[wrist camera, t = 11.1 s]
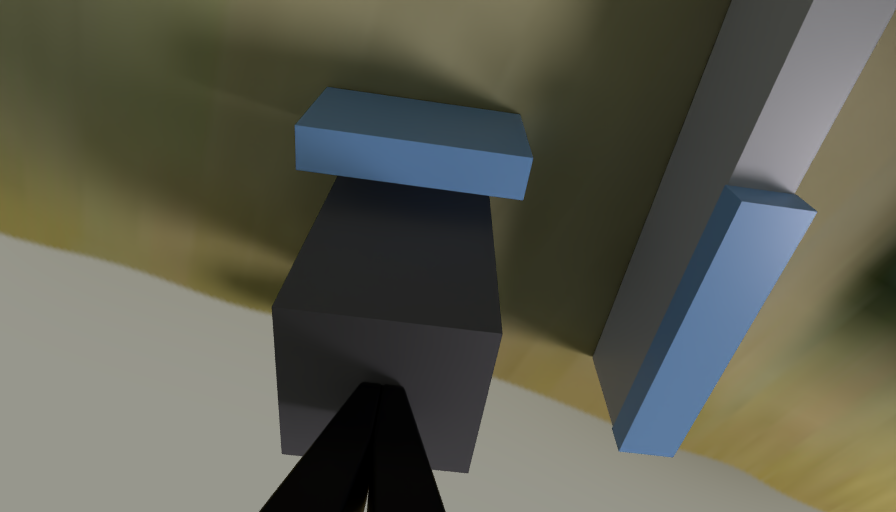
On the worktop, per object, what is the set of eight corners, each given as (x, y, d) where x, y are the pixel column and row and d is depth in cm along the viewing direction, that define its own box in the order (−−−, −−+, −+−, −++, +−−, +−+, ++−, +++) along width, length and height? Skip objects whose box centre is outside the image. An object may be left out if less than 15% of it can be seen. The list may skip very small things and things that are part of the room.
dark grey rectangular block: (487, 179, 15) (502, 333, 9) (466, 293, 17) (467, 472, 11) (345, 161, 14) (271, 307, 9) (342, 278, 16) (281, 454, 11)
